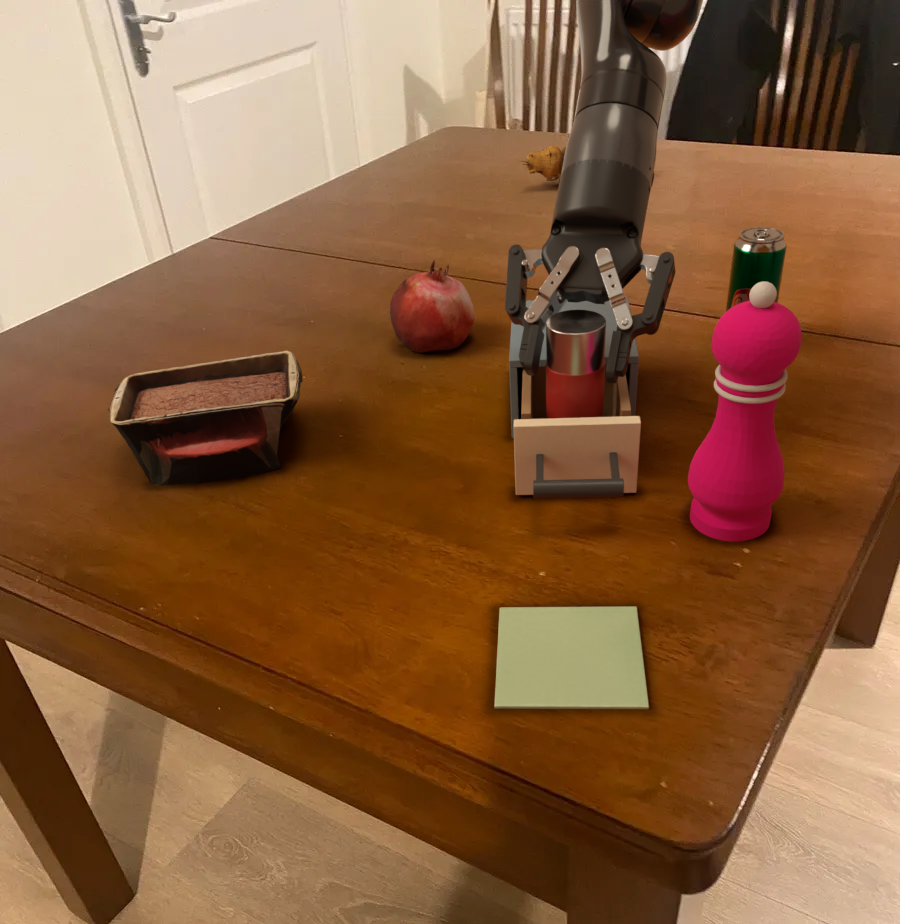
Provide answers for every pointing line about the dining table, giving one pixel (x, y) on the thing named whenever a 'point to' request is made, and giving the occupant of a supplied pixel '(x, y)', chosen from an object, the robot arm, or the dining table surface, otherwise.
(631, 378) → the cabinet
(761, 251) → the soda can
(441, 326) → the fruit
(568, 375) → the tin
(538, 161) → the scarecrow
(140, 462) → the baking dish
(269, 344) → the dining table surface
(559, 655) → the tile
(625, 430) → the drawer
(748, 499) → the pepper mill
